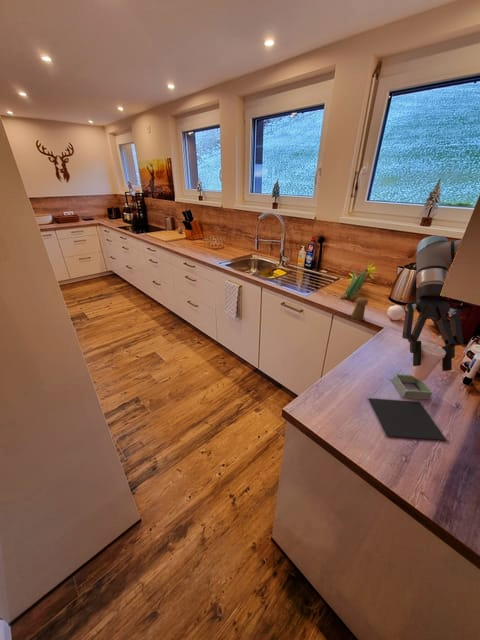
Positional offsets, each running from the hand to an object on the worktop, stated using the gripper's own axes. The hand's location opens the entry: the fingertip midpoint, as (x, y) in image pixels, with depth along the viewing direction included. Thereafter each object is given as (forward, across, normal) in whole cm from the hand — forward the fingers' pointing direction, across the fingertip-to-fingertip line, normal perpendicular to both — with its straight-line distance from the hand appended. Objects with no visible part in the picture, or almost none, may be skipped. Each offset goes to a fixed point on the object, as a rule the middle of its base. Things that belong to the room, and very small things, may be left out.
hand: (431, 367), depth 69 cm
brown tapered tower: (-32, +5, -61) cm, 69 cm away
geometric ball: (-35, -14, -64) cm, 74 cm away
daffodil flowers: (-57, +1, -86) cm, 104 cm away
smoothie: (+2, 0, -7) cm, 7 cm away
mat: (+14, 0, -15) cm, 20 cm away
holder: (+4, -5, -25) cm, 26 cm away
